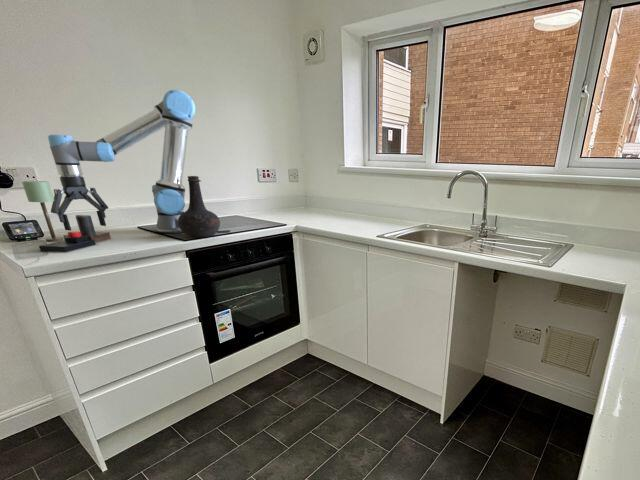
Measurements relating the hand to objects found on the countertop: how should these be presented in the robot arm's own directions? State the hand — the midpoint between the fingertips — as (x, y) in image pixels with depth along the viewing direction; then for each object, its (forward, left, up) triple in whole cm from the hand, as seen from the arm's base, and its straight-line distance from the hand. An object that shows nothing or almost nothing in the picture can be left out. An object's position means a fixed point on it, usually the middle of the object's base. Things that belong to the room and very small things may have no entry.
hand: (86, 227), depth 152 cm
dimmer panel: (+2, -1, -6) cm, 6 cm away
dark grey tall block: (0, 0, -3) cm, 3 cm away
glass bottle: (-39, -19, -6) cm, 44 cm away
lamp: (-2, +18, -2) cm, 18 cm away
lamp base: (-2, +13, -6) cm, 14 cm away
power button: (-2, +9, -2) cm, 9 cm away
